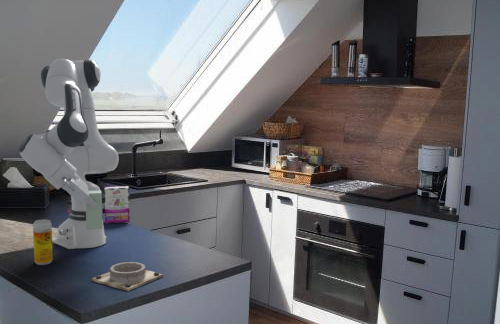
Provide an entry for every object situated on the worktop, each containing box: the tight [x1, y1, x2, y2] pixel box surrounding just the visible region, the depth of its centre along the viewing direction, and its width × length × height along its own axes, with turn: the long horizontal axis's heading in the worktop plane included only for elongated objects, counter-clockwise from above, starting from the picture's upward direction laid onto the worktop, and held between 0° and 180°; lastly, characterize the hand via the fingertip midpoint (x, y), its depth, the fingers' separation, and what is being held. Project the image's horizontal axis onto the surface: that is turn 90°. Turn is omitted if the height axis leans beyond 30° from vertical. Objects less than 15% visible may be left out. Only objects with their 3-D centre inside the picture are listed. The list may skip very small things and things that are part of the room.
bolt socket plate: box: [91, 261, 164, 292], centre depth 177 cm, size 16×16×4 cm
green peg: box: [86, 189, 103, 230], centre depth 179 cm, size 5×5×12 cm
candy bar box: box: [103, 185, 131, 224], centre depth 250 cm, size 11×5×16 cm, turn 104°
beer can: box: [32, 218, 54, 266], centre depth 191 cm, size 6×6×15 cm
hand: (95, 204), depth 179 cm, fingers closed on green peg, 5 cm apart
